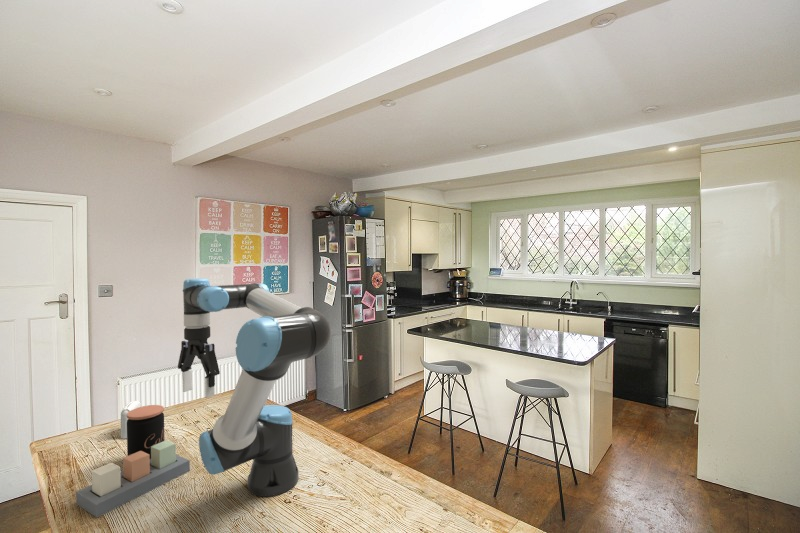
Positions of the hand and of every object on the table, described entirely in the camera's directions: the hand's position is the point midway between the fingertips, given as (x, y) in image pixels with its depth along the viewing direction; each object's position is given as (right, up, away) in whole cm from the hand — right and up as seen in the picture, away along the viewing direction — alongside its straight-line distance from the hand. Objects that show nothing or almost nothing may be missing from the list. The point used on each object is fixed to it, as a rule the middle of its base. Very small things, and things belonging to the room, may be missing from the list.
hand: (198, 393), depth 124 cm
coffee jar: (-21, -26, +7) cm, 34 cm away
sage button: (-12, -23, 0) cm, 26 cm away
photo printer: (-42, -26, +29) cm, 57 cm away
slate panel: (-15, -26, -7) cm, 31 cm away
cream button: (-19, -23, -14) cm, 33 cm away
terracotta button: (-15, -23, -7) cm, 29 cm away
